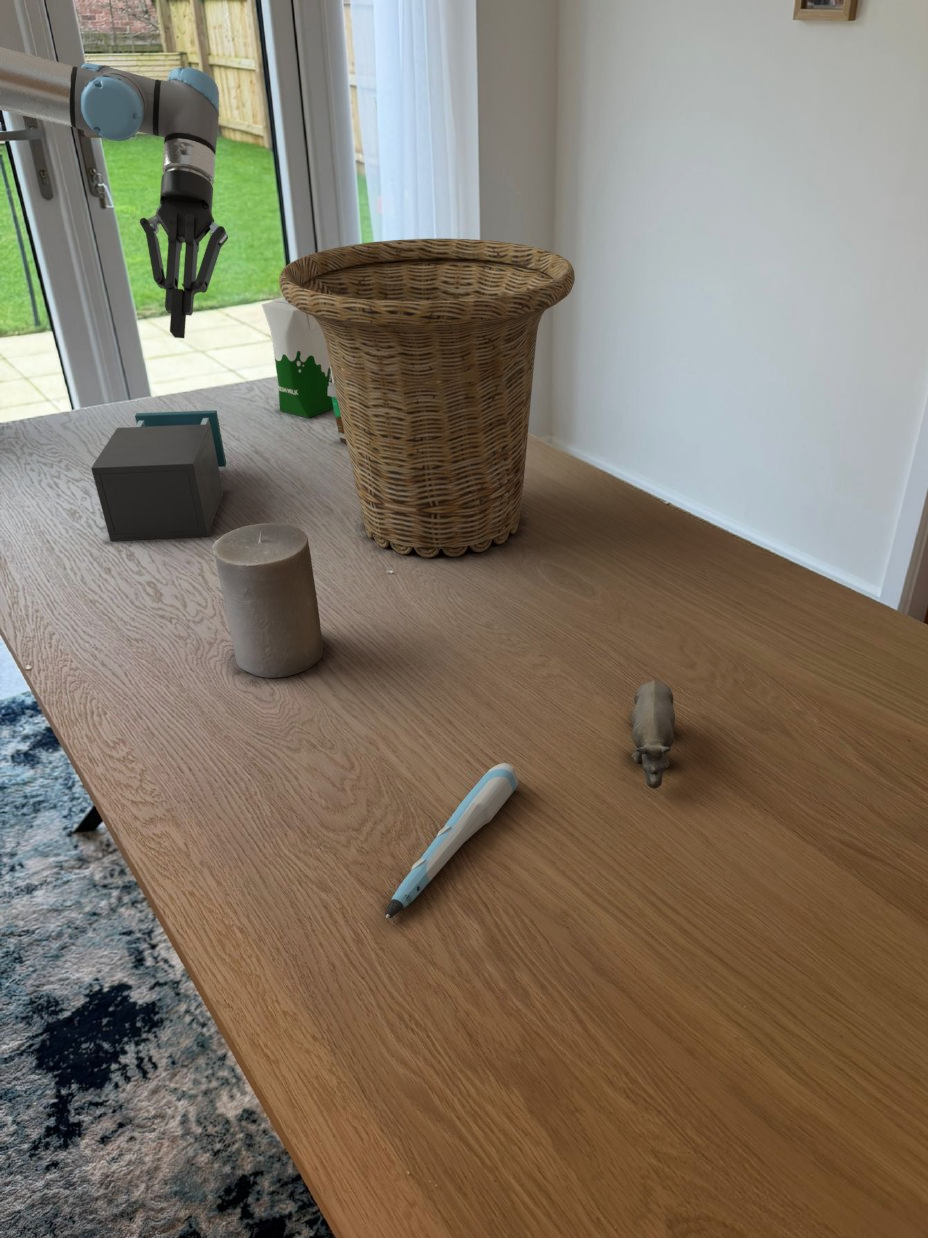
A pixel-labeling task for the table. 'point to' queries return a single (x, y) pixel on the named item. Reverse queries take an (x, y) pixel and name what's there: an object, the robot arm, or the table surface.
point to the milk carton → (299, 359)
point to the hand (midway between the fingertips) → (177, 334)
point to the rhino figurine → (653, 729)
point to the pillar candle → (270, 599)
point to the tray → (186, 419)
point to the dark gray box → (159, 482)
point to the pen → (457, 832)
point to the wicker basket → (433, 378)
